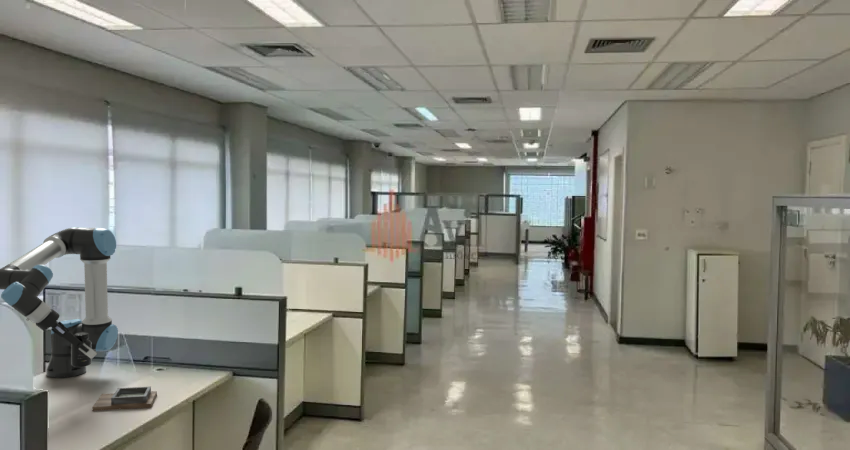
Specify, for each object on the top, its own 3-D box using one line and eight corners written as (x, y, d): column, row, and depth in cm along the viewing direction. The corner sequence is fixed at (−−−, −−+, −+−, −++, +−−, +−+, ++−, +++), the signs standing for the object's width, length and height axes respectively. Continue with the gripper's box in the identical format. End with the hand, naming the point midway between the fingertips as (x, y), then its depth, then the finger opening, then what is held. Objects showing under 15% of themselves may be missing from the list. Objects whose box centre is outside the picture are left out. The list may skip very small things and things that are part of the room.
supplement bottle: (68, 364, 236) (69, 333, 236) (88, 361, 241) (88, 330, 241) (74, 368, 231) (74, 336, 231) (93, 365, 236) (94, 334, 236)
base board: (101, 397, 243) (101, 387, 243) (156, 394, 249) (156, 385, 248) (92, 410, 229) (92, 400, 229) (150, 407, 234) (151, 397, 234)
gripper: (30, 319, 233) (78, 355, 244) (39, 329, 218) (89, 367, 229) (46, 304, 236) (93, 341, 247) (56, 312, 221) (105, 351, 232)
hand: (91, 353), depth 238 cm, fingers closed on supplement bottle, 7 cm apart
